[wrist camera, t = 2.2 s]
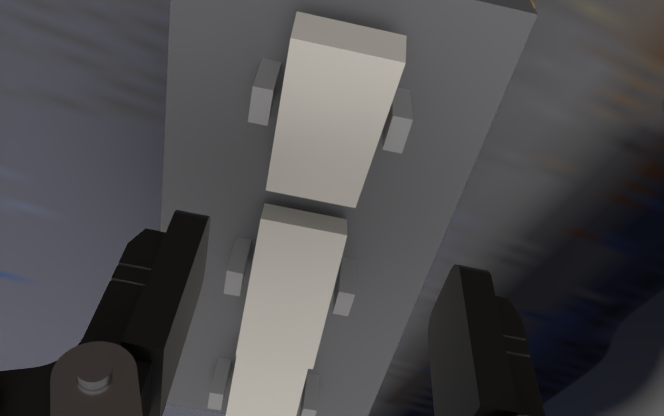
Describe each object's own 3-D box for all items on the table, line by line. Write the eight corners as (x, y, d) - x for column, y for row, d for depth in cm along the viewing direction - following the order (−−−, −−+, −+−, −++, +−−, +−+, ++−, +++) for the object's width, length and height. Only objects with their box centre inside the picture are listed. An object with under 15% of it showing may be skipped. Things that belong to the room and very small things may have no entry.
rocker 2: (296, 11, 22) (290, 37, 21) (406, 35, 22) (405, 63, 21) (271, 163, 28) (265, 190, 27) (358, 181, 28) (355, 208, 27)
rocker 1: (240, 337, 36) (236, 356, 34) (309, 349, 36) (308, 368, 35) (222, 437, 39) (217, 458, 38) (285, 448, 39) (282, 468, 38)
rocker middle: (264, 203, 30) (260, 218, 28) (347, 219, 30) (347, 235, 28) (240, 336, 33) (235, 355, 32) (314, 349, 33) (313, 369, 32)
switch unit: (205, -103, 27) (154, -50, 21) (519, -30, 28) (560, 42, 22) (173, 336, 46) (141, 435, 39) (364, 370, 47) (362, 472, 40)
